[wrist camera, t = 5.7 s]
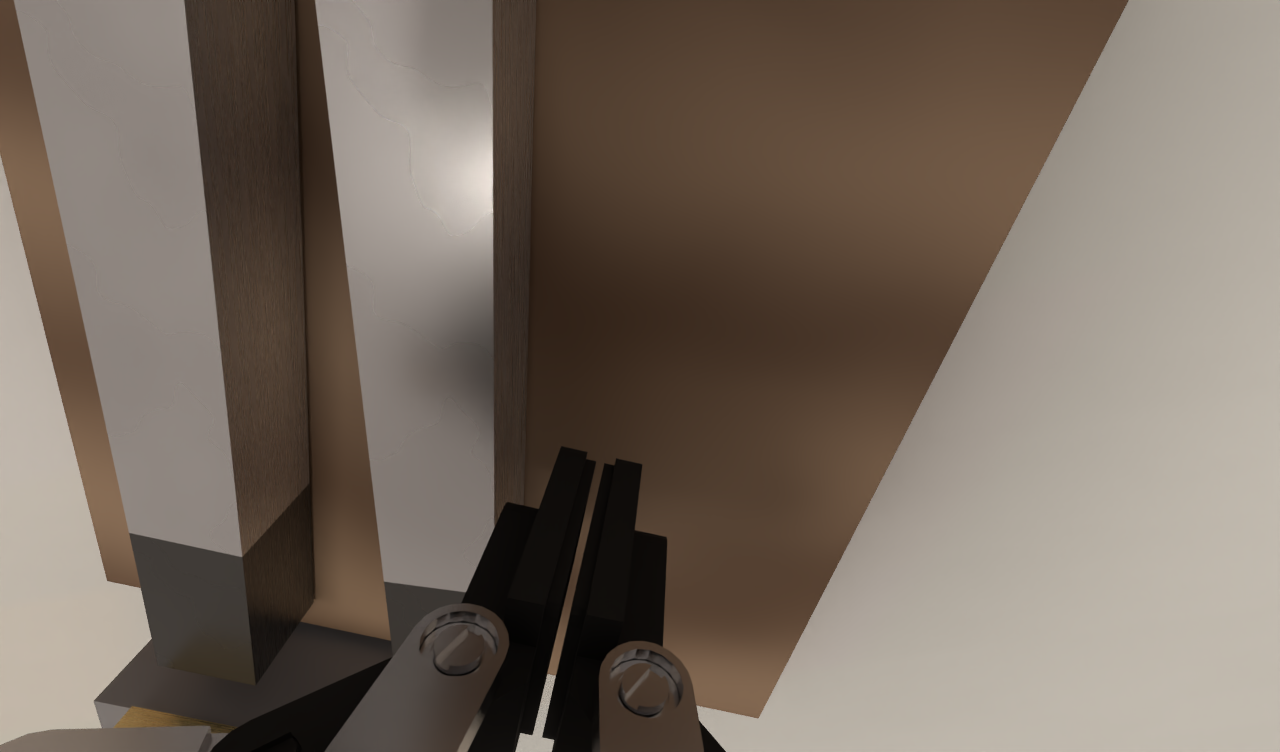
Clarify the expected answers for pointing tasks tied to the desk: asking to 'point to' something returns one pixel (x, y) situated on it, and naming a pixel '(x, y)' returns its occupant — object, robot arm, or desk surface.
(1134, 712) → the desk surface
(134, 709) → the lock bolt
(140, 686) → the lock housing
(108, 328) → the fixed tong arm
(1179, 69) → the desk surface
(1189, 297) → the desk surface
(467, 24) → the tong arm
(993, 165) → the tong board
